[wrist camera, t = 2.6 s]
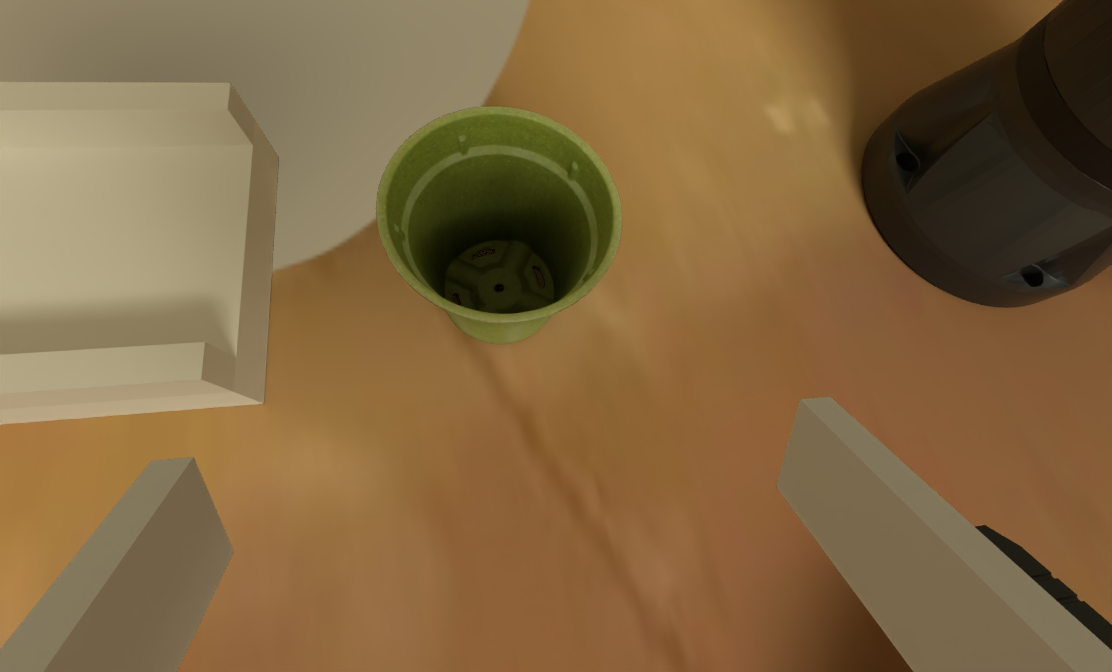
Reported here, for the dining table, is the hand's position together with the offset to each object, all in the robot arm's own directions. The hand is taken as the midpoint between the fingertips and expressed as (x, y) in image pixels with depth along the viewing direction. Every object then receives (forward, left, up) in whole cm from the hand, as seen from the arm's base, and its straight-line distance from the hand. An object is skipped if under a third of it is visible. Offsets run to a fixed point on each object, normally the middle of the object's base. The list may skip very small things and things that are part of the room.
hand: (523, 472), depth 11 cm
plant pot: (-6, -8, -14) cm, 17 cm away
